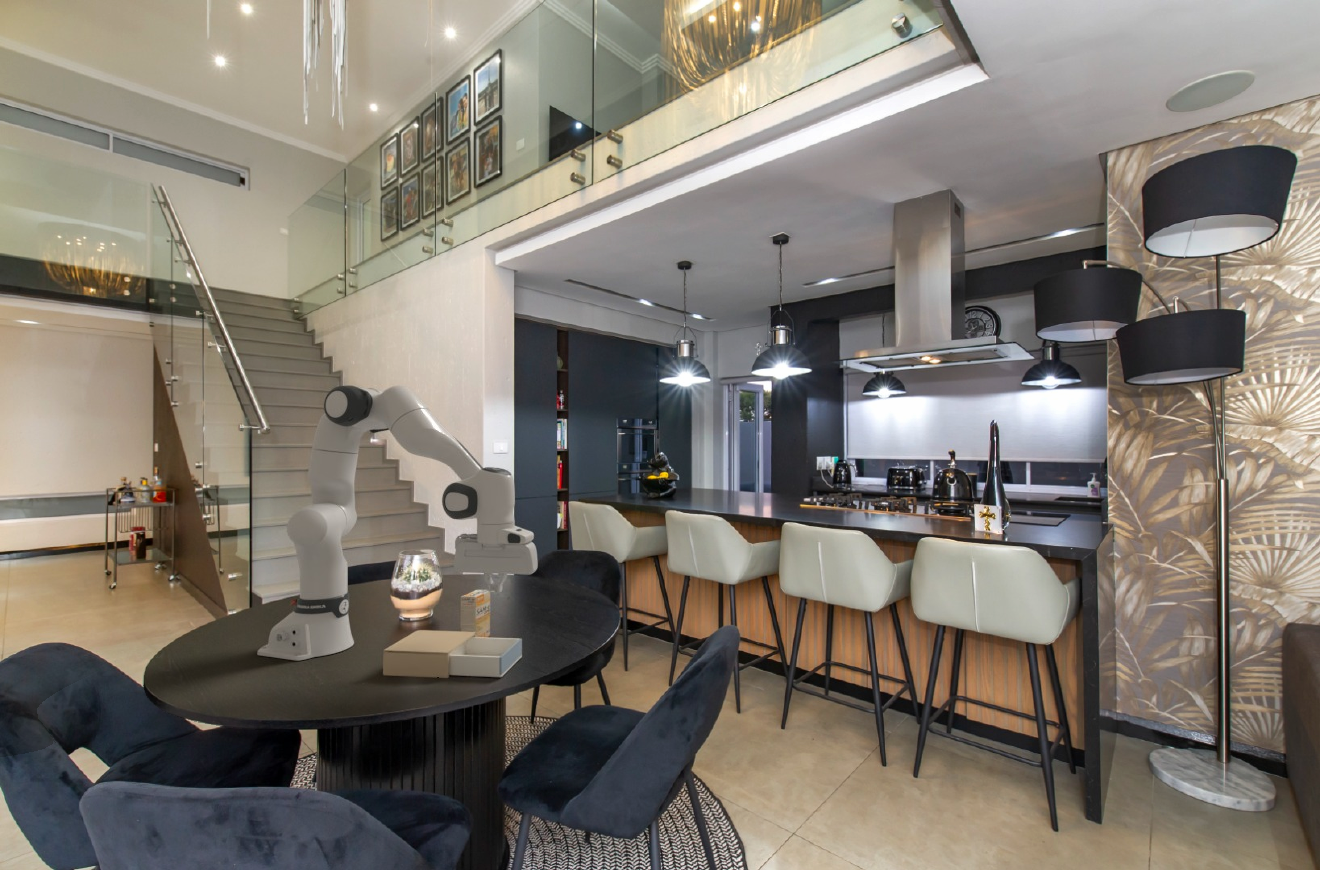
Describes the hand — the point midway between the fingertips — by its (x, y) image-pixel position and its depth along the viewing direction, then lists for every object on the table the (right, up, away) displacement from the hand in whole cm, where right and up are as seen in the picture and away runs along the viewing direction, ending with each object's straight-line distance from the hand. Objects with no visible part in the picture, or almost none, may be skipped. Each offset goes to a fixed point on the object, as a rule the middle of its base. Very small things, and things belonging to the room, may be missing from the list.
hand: (495, 591), depth 139 cm
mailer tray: (-3, -18, 0) cm, 19 cm away
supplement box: (-11, -19, +19) cm, 29 cm away
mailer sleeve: (-16, -18, +2) cm, 25 cm away
